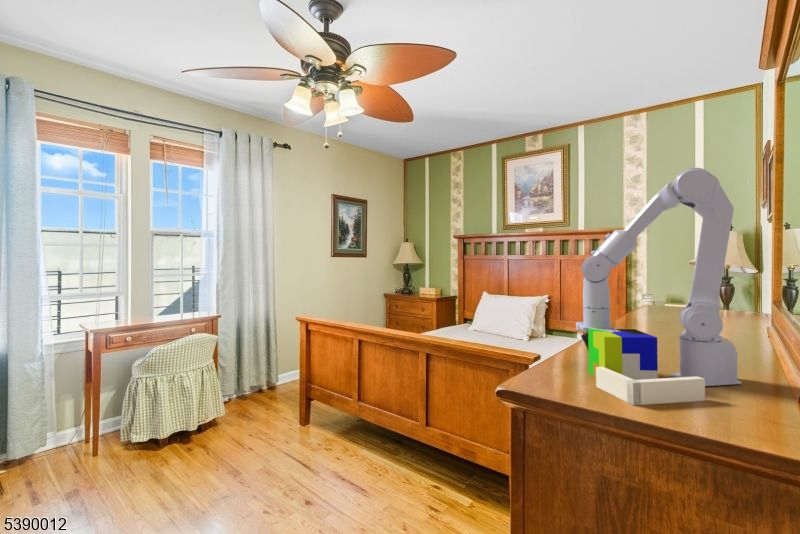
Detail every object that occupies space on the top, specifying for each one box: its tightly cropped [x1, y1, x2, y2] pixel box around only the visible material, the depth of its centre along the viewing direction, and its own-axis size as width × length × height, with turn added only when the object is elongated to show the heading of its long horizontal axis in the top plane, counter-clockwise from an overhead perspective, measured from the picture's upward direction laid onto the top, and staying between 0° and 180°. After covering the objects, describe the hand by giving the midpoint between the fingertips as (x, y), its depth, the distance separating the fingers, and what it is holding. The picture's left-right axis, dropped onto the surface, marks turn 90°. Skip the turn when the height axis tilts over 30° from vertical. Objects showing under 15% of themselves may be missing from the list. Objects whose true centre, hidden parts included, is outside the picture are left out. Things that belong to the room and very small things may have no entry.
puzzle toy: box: [587, 328, 659, 380], centre depth 85 cm, size 10×10×10 cm
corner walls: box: [595, 367, 706, 406], centre depth 76 cm, size 14×11×4 cm
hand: (597, 365), depth 93 cm, fingers closed
